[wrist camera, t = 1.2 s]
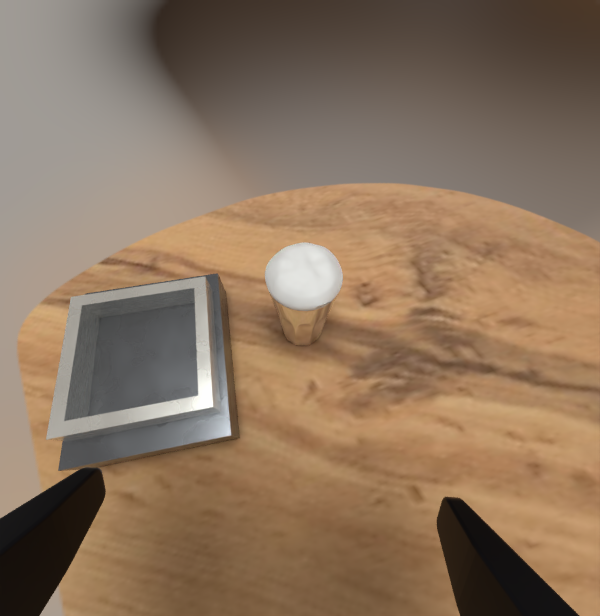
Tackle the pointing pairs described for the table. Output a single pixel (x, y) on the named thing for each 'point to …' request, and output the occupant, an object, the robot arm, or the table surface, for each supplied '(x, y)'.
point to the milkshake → (303, 289)
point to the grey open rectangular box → (144, 373)
